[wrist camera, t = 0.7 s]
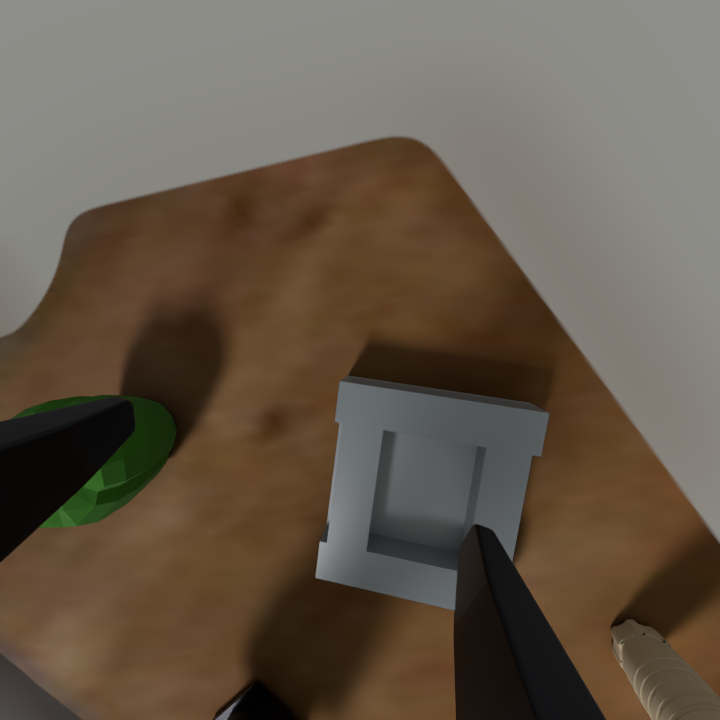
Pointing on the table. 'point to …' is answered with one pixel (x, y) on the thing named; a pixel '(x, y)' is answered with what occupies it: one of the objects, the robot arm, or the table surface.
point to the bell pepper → (117, 462)
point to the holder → (422, 484)
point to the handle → (662, 676)
